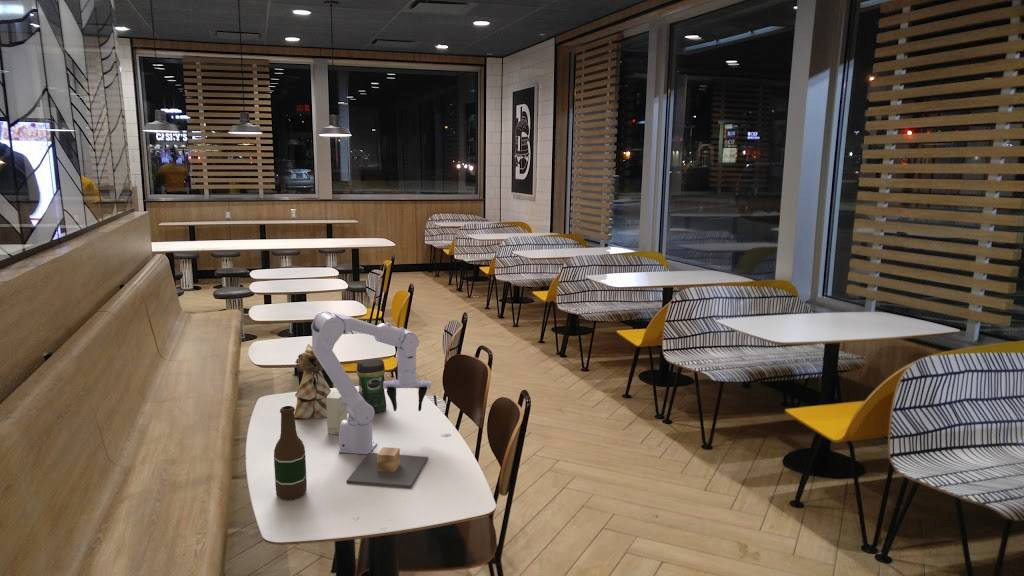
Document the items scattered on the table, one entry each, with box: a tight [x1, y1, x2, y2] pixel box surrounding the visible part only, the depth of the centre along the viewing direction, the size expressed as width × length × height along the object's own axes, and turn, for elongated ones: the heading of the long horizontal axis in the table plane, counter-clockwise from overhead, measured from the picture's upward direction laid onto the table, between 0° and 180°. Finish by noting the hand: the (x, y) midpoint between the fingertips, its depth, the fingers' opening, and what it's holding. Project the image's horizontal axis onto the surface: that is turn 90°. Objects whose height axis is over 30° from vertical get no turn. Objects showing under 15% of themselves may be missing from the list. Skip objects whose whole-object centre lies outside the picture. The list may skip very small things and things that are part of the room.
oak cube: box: [377, 446, 401, 472], centre depth 193 cm, size 5×5×5 cm
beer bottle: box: [273, 405, 308, 501], centre depth 177 cm, size 8×8×24 cm
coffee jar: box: [356, 357, 387, 414], centre depth 237 cm, size 10×8×19 cm
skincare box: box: [326, 391, 348, 435], centre depth 219 cm, size 6×4×12 cm
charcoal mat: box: [346, 452, 429, 489], centre depth 193 cm, size 18×18×1 cm
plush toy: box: [294, 343, 332, 420], centre depth 232 cm, size 14×14×25 cm
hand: (407, 409), depth 214 cm, fingers open, 7 cm apart
